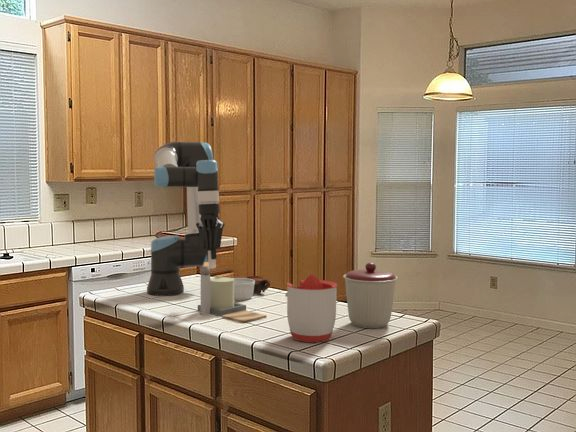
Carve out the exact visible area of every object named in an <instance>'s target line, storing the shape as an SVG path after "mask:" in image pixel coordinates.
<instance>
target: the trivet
mask: <svg viewBox="0 0 576 432" xmlns="http://www.w3.org/2000/svg"><path fill="white" fill-rule="evenodd" d="M221 318H222V319H226V320H229V321H234V322H237V323H242V324H246V323H250V322H255V321H258V320H261V319H266V318H267V314H263V313H258V312H254V311H249V310H246V311H245V310H243V311H239V312H235V313H230V314H226V315H222V316H221Z"/></svg>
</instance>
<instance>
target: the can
mask: <svg viewBox="0 0 576 432" xmlns="http://www.w3.org/2000/svg"><path fill="white" fill-rule="evenodd" d="M233 278H234V277H227V276H226V277H225V276H223V277H222V276H221V277H213V278H212V277H211V278H210V307H211V308H216V309H220V310H222V309H227V308H231V307H234V302H235V300H234V279H233Z"/></svg>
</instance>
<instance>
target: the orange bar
mask: <svg viewBox="0 0 576 432" xmlns="http://www.w3.org/2000/svg"><path fill="white" fill-rule="evenodd" d="M210 273H211V270H210V267H209V262H205V263H204V266H203V267H201V266H200V275H208V274H209V275H211V274H210Z"/></svg>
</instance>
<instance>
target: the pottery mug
mask: <svg viewBox="0 0 576 432" xmlns="http://www.w3.org/2000/svg"><path fill="white" fill-rule="evenodd" d="M246 278H248V279H253V280H254V281H255V285H254V291H253V295H260V296H261V295H262V293H265V291H267V290H268V289H269V288H270V286H271V282H270V281H269V280H268V279H263V277H262V276H260V275H251V276H248V277H246Z"/></svg>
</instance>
